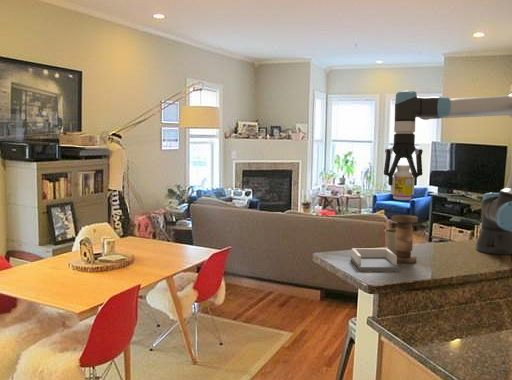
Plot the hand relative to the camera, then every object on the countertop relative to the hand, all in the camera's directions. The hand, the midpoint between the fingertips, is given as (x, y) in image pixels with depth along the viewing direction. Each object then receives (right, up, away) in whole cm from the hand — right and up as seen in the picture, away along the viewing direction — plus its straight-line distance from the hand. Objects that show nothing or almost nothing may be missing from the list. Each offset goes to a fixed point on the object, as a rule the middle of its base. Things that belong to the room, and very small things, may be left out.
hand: (402, 194), depth 183 cm
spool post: (-2, -24, -8) cm, 25 cm away
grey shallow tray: (-14, -25, -16) cm, 33 cm away
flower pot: (-1, -23, +5) cm, 24 cm away
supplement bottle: (0, -2, 0) cm, 2 cm away
